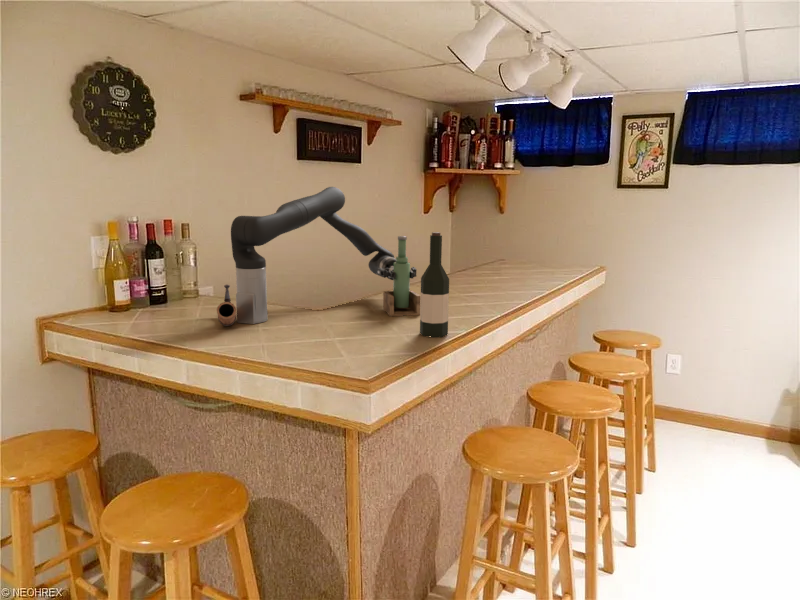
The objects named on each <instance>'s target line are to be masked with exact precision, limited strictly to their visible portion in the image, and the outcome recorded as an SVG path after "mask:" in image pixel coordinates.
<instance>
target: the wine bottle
mask: <svg viewBox="0 0 800 600" xmlns="http://www.w3.org/2000/svg"><path fill="white" fill-rule="evenodd" d="M429 236H430V237H429V264H428V266H427V267H426V269H425V271H424V272H423V274H422V275H421V277H420V315H419V334H420V333H421V334H422V335H424V336H423V337H426V336H431V337H430V338H442V337H441V336H444V337H446V336H448V335H447V334H449V306H450V305H449V303H450V301H449V300H450V278H449V276H448V274H447V272H446V270H445V268H444V267H443V265H442V255H443V254H442V253H443V252H442V249H443V247H442V246H443V235H441V232H438V231H435V232H434V231H433V232H431V235H429ZM421 334H420V335H421ZM422 335H421V336H422ZM445 335H446V336H445Z"/></svg>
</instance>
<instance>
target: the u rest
mask: <svg viewBox="0 0 800 600" xmlns="http://www.w3.org/2000/svg"><path fill="white" fill-rule="evenodd" d="M382 292H383V295H382V296H383V297H382V298H383V299H382V301H383V303H382V304H383V305H382V310H383V311H384V312H385V311H386V312H387V313H388V314H389V315H390V316H389V315H388V314H387V313H386V312H385V313H386V314H387V315H388V316H389V317H401V316H402V317H404V316H403V315H407V316H420V303H421V294H419V293H417V292H415V291H414V290H410V296H409V307H406V308H397V307H394V296H393V290H390V291H389V290H388V291H387V290H386V291H382Z"/></svg>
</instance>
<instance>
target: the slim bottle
mask: <svg viewBox="0 0 800 600" xmlns="http://www.w3.org/2000/svg"><path fill="white" fill-rule="evenodd" d="M407 237H408V236H405V235H398V236H397V242H398V243H397V244H398V245H397V247H398V250H397V256H395V259H396V262H394V272H395V273H396V279H393V280H392V281H393V282H392V283H393V285H392V288H393V289H392V291H393V296H394V307H397V308H406V307H409V296H410V287H411V283H410V282H411V278H410V269H411V263H410V262H409V257H408V256H407V239H408V238H407Z"/></svg>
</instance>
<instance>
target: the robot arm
mask: <svg viewBox="0 0 800 600" xmlns="http://www.w3.org/2000/svg"><path fill="white" fill-rule="evenodd" d="M345 203H346V197H345V194H344V192H343V191H342V190H341V189H340V188H339V187H338V188H337V187H336V186H328V187H326V188H324V189H323V190H321V191H319V192H317V193H315V194H313V195H308V196H307V195H306V196H305V197H301V198H298V199H293V200H290V201H288V202H285V203H283V204H281V205H280V206H279V207H278V208H277V210H276V212H274V213H272V214H268V215H263V216H262V215H261V216H259V215H257V216H255V215H238V216H236V217H235V218H234V219H233V220H232V222H231V226H230V240H231V241H230V242H231V250H232V251H231V252H232V259H233V260H234V263H235V277H236V281H235V282H236V283H235V284H236V293H235V307H236V323H238V324H251V325H253V324H259V323H265V322H266V321H268V319H269V318H268V317H269V316H268V293H267V291H268V290H267V267H266V266H267V260H266V259H265V257H264V256H262V255H260V254H259V253H258V252H257V251H256V249H255V247H260V246H264V245H266V244H268V243H269V242H271V241H273V240H274V239H276V238H277V237H279V236H281V235H284V234H287V233H290V232H291V231H295V230H297V229H301V228H302V227H305V226H306V225H308V224H310V223H311V222H313V221H315V220H316V219H318V218H319V217H320V218H321V219H322V220H324V222H326V223H327V224H328V225H330V226H331V227H332V228H334V229H335V230H336V231H337V232H338V233H340V234H341V235H342V236H344V237H345V238H346V239H347V240H348V241H349V242H350V243H351V244H352V245H353V246H354V247H355V248H356V249H357V250H358V252H359V253H361V254H362V255H363V256H364V257H368V256H370V255H371V254H374V253H376V252H377V253H376V254H375V255H374V256H373V257H371V259H370V260H369V262H368V268H369V270H370V271H371V273H373V274H374V275H377V276H378V277H381V278H385V279H386V278H387V279H388V280H390V281H393V279H396V273H395V272H394V262H396V257H395V255H394V254H393V253H392V251H390V250H388V249H387V248H386V247H383V246H382V245H380V244H379V243H378V242H376V240H375V239H373V238H372V236H371V235H370V234H369V233H368V232H367V231H366V230H365V229H364V228H363V227H360V226H359V225H357V224H354V223H352V222H349V221H348V220H346V219H343V218H342V217H341V216H340V215H338V213H337V212H339V211H341V210H342V208H344V205H345ZM416 277H417V267H415V266H411V267H410V279H414V278H416Z"/></svg>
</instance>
